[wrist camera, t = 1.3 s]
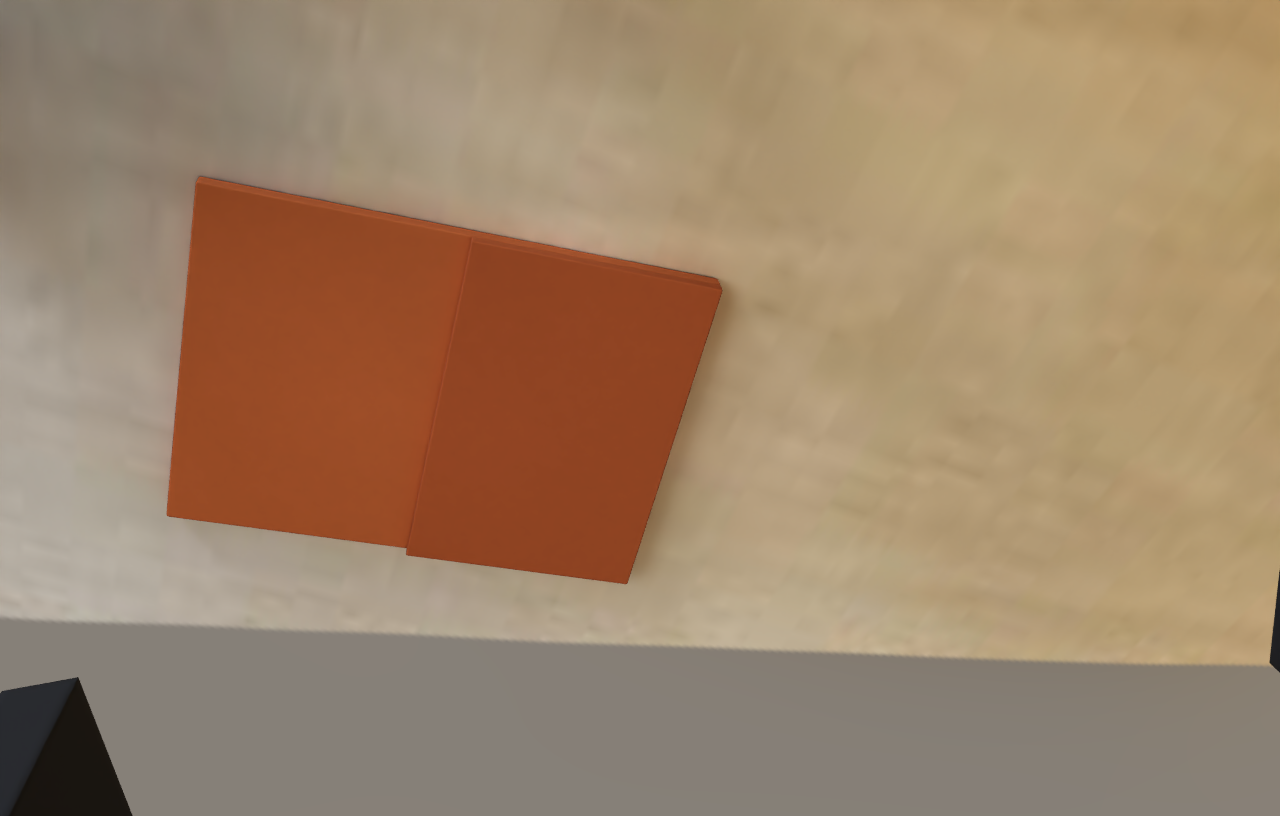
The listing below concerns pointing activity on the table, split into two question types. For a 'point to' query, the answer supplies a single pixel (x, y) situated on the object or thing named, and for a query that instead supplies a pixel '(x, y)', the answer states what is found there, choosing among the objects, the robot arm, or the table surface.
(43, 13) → the table surface
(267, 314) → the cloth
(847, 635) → the table surface
